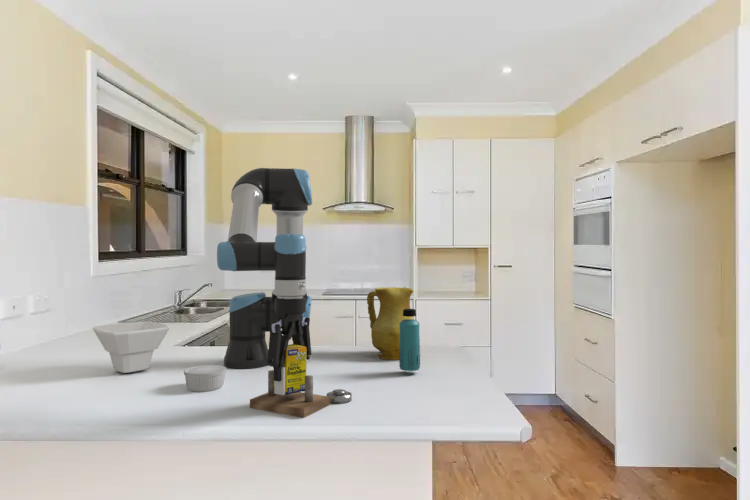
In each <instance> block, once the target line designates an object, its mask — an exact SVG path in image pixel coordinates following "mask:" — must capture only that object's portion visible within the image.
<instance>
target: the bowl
mask: <svg viewBox="0 0 750 500" xmlns="http://www.w3.org/2000/svg"><path fill="white" fill-rule="evenodd" d="M92 330H93V332H94V333H95V336H96V337H97V339H98V340H99V342H100V344H101V345H102V347H103V349H104V351H106V352H108V353H109V356H110V360H111V363H112V366H113V369H114V370H115V371H117V372H119V373H123V374H126V373H134V372H140V371H145V370H149V367H150V364H151V362H152V358H153V354H154V351H155V350H158V349H159V347H160V345H161V344H162V342H163V341H164V339H165V337H166V335H167V333H168V331H169V330H170V327H169V326H168V325H166V324H164V323H160V322H154V321H134V322H124V323H123V322H122V323H114V324H113V323H112V324H106V325H97V326H93V328H92Z"/></svg>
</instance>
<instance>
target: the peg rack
mask: <svg viewBox="0 0 750 500" xmlns="http://www.w3.org/2000/svg"><path fill="white" fill-rule="evenodd" d="M267 371H268V372H267V373H268V374H267V376H268V377H267V383H268V384H267V385H268V386H267V390H268V391H267V392H266V393H263V394H260V395H258V396H255V397H252V398H250V399H249V408H250V409H254V410H260V411H265V412H271V413H277V414H283V415H288V416H294V417H299V418H307V417H309V416H310V415H312V414H315V413H317V412H318V411H320V410H322V409H324V408H326V407H328V406H330V405H331V403H330V397H328V396H327V395H320V394H315V393H314V375H311V374H309V375H307V374H306V376H305V391H302V392H297V393H293V394H289V395H280V394H274V369H273V370H267Z"/></svg>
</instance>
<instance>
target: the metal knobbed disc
mask: <svg viewBox="0 0 750 500" xmlns="http://www.w3.org/2000/svg"><path fill="white" fill-rule="evenodd" d="M352 395H353V393H352V392H350V391H347V390H345V389H342V388H337V389H333V390H332V391H329V392H327V393H326V396H328V397H330V404H333V405H334V404H335V405H336V404H337V405H339V404H341V405H342V404H348V403H350V402H352Z"/></svg>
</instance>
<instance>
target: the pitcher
mask: <svg viewBox="0 0 750 500" xmlns="http://www.w3.org/2000/svg"><path fill="white" fill-rule="evenodd" d="M413 293H414V289H413V288H410V287H406V286H404V287H395V286H394V287H392V286H391V287H388V286H387V287H376V288H375V289H374V290H372V291H370V292H368V294H367V296H366V304H367V313H368V315H369V316H368V319H369V323H370V324H369V326H370V329H371V342H372V345H373V346H372V347H374V348H375V349H376V350H377V351H379V352H380V354H378V355H377V358H379V359H382V360H387V361H390V360H391V361H397V360H399V353H400V351H399V350H400V347H399V346H400V325H399V324H400V322H401V321H402V320H404V319H414V316H412V317H408V316H403V309H411V296H412V294H413ZM375 297H377V298H378V300H379V310H378V315H377V313H376V309H375Z"/></svg>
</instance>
